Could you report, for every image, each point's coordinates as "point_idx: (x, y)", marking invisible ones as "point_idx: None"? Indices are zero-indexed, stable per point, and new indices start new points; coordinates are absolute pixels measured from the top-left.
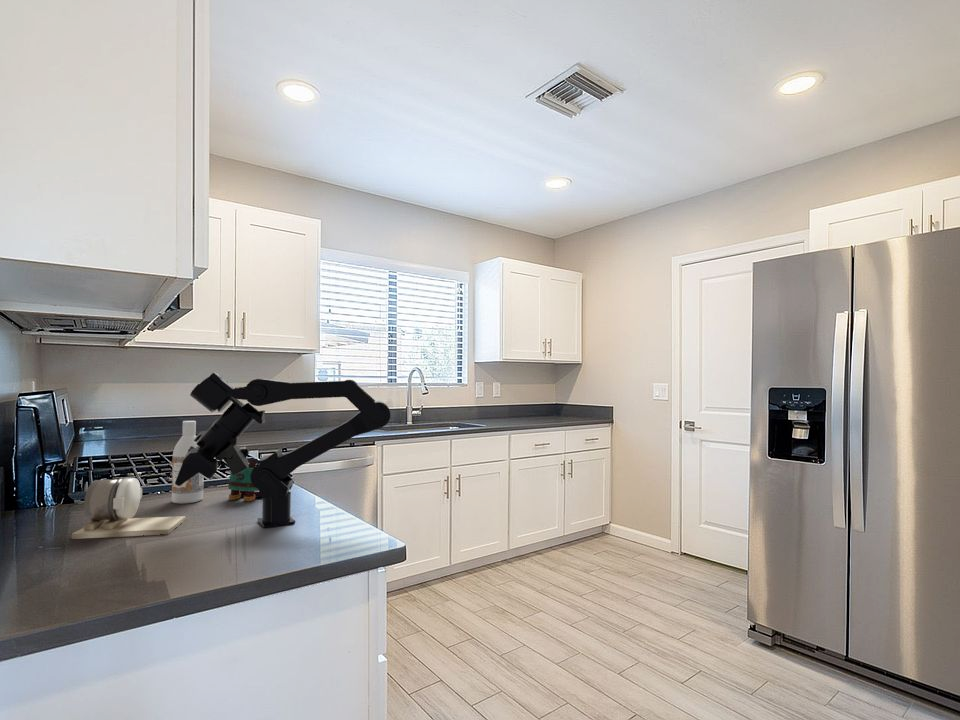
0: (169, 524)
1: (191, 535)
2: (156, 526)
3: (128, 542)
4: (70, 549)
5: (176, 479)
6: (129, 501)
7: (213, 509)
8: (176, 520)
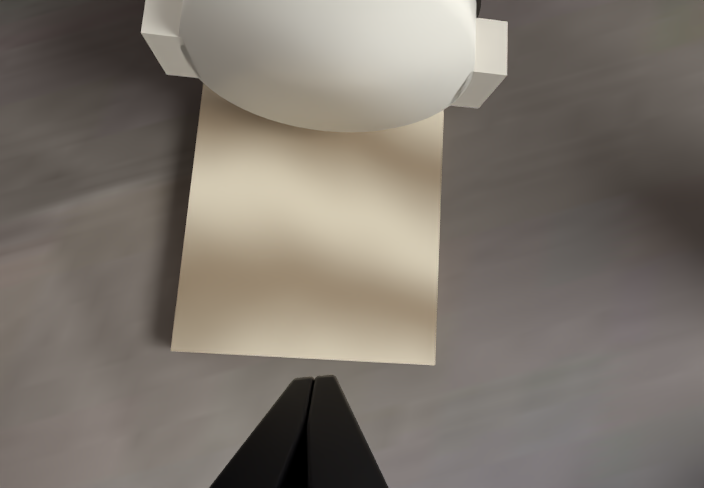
0: (270, 328)
1: (122, 472)
2: (246, 272)
3: (91, 201)
4: (60, 3)
5: (273, 407)
6: (276, 76)
7: (641, 453)
8: (347, 342)
